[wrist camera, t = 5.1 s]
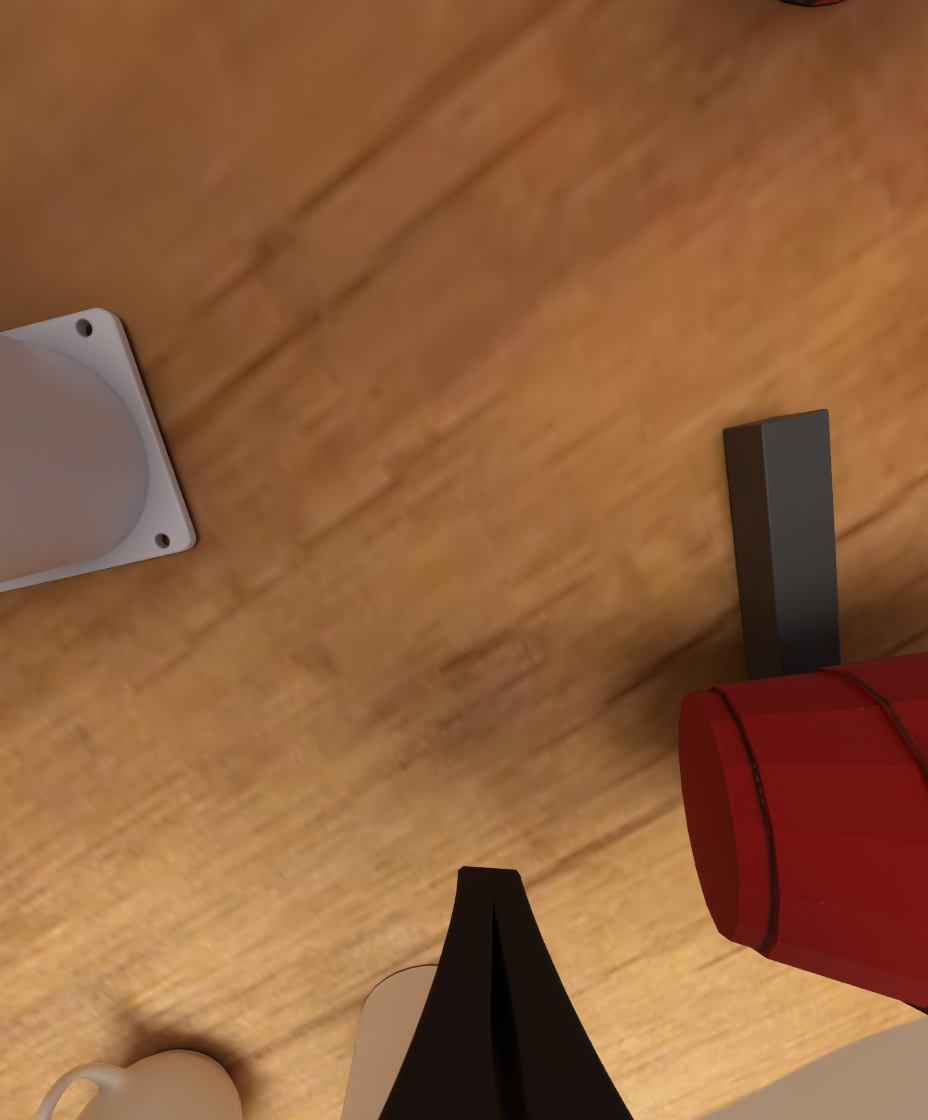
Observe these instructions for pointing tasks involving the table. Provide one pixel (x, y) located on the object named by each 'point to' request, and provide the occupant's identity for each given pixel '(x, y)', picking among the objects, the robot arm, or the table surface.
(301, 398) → the table surface
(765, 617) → the rail
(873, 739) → the plastic cup
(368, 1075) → the cylindrical container
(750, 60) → the table surface
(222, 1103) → the teacup
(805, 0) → the deodorant
